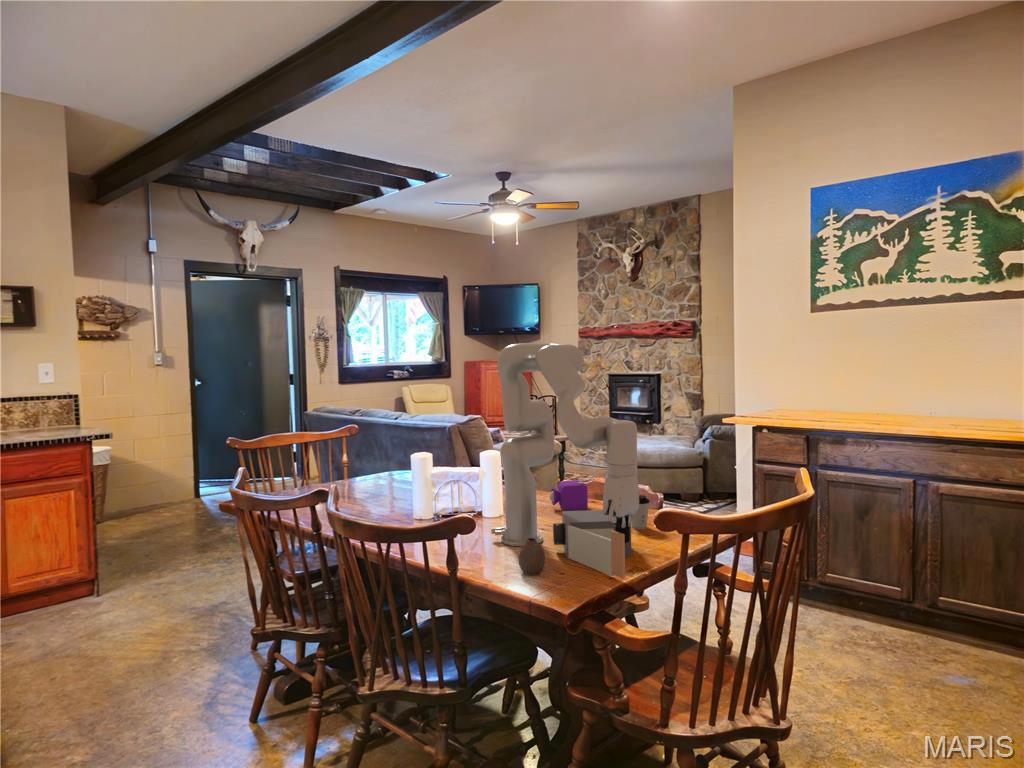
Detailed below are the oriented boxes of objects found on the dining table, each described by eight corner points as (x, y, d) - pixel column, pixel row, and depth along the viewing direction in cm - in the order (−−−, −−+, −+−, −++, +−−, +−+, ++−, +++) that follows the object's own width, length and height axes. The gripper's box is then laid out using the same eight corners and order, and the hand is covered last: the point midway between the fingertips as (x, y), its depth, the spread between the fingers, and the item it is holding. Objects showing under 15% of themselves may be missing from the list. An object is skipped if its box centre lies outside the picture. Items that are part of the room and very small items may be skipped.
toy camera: (546, 507, 224) (545, 480, 224) (580, 503, 229) (579, 477, 228) (556, 514, 214) (556, 486, 214) (592, 510, 218) (591, 482, 218)
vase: (517, 568, 162) (516, 535, 161) (543, 567, 162) (542, 534, 162) (519, 578, 155) (519, 544, 154) (546, 576, 155) (546, 542, 155)
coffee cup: (649, 524, 198) (649, 494, 198) (650, 530, 191) (650, 499, 191) (628, 524, 200) (627, 494, 199) (628, 530, 193) (627, 499, 192)
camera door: (565, 559, 168) (564, 516, 167) (569, 558, 168) (568, 515, 168) (622, 582, 149) (621, 534, 149) (625, 581, 150) (625, 533, 150)
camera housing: (555, 558, 168) (554, 519, 168) (552, 544, 180) (551, 508, 180) (631, 556, 168) (631, 517, 168) (623, 542, 180) (622, 506, 180)
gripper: (625, 463, 160) (626, 531, 161) (591, 472, 150) (592, 545, 151) (650, 466, 155) (651, 537, 156) (617, 476, 144) (618, 552, 145)
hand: (622, 541), depth 153 cm, fingers closed
